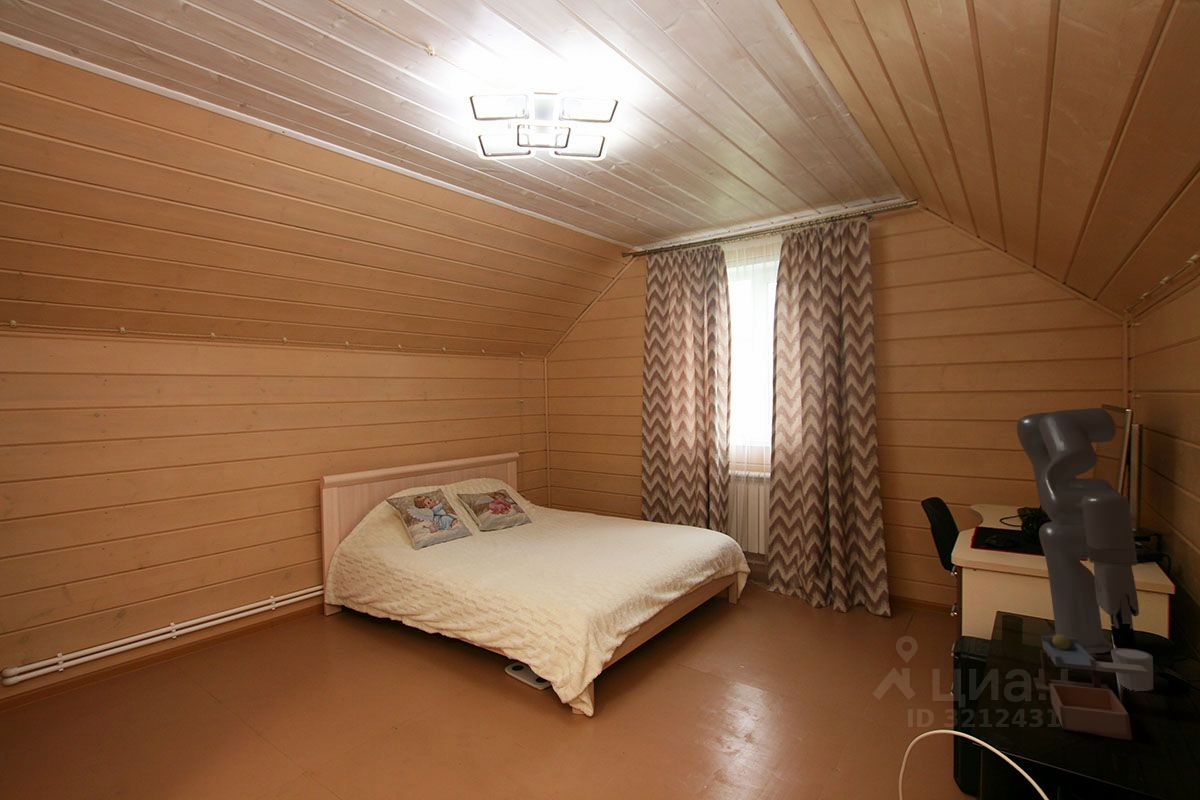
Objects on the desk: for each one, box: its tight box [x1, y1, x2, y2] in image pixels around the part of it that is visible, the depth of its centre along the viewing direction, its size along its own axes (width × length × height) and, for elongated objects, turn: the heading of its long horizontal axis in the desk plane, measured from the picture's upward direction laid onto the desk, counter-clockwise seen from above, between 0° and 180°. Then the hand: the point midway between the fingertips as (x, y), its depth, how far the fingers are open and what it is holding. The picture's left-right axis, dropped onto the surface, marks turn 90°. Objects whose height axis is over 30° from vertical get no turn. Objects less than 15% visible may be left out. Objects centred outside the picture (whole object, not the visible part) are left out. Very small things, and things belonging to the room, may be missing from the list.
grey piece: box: [1041, 635, 1149, 676], centre depth 127 cm, size 17×15×4 cm
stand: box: [1032, 648, 1110, 695], centre depth 128 cm, size 6×13×8 cm, turn 61°
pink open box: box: [1049, 683, 1133, 741], centre depth 115 cm, size 11×10×4 cm
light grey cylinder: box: [1110, 648, 1154, 692], centre depth 128 cm, size 7×7×7 cm
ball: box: [1053, 635, 1070, 650], centre depth 134 cm, size 3×3×3 cm
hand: (1124, 647), depth 119 cm, fingers closed
